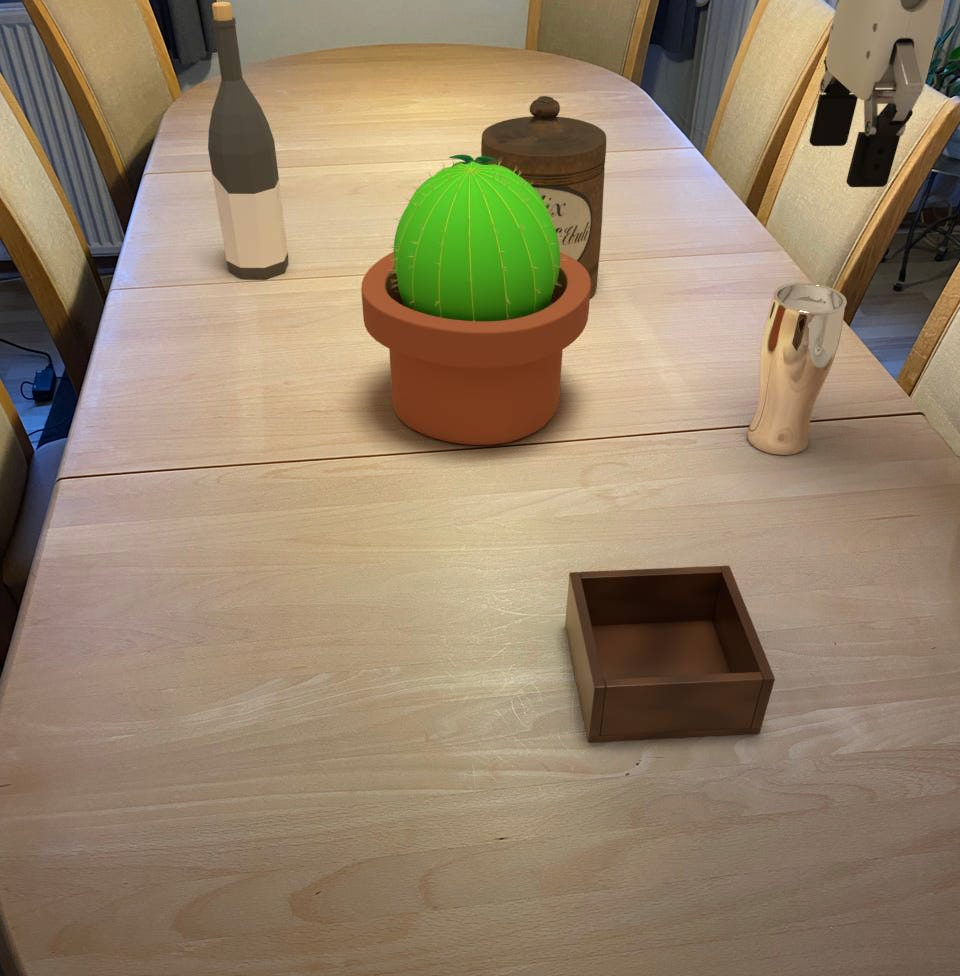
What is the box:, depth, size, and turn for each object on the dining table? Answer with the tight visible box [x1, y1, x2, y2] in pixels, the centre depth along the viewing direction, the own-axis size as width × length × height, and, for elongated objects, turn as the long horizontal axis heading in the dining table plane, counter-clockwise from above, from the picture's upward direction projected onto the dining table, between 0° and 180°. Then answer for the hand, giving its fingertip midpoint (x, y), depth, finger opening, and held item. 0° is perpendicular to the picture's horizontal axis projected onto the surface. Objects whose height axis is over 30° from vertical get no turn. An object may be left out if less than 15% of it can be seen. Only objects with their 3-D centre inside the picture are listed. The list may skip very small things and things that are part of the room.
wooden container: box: [480, 95, 607, 298], centre depth 123 cm, size 15×15×22 cm
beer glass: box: [746, 282, 848, 456], centre depth 99 cm, size 7×7×15 cm
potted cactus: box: [360, 154, 591, 446], centre depth 101 cm, size 22×22×25 cm
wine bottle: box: [207, 1, 289, 280], centre depth 125 cm, size 8×8×30 cm
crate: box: [564, 565, 776, 743], centre depth 77 cm, size 13×13×6 cm
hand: (845, 164), depth 86 cm, fingers open, 9 cm apart
